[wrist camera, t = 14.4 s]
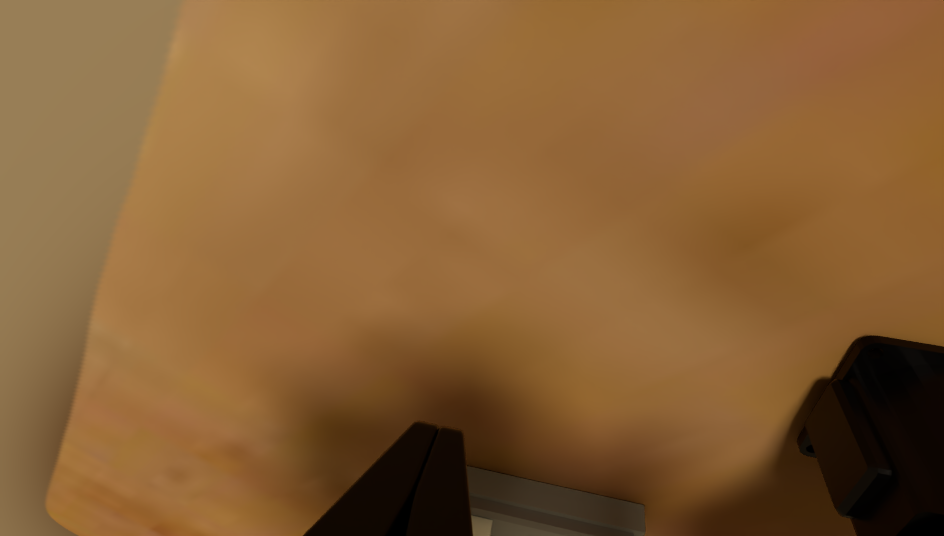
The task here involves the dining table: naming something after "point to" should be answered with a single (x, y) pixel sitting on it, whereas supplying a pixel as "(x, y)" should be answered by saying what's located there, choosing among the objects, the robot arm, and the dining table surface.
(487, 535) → the tab
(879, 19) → the dining table surface
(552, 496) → the switch bank
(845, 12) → the dining table surface
